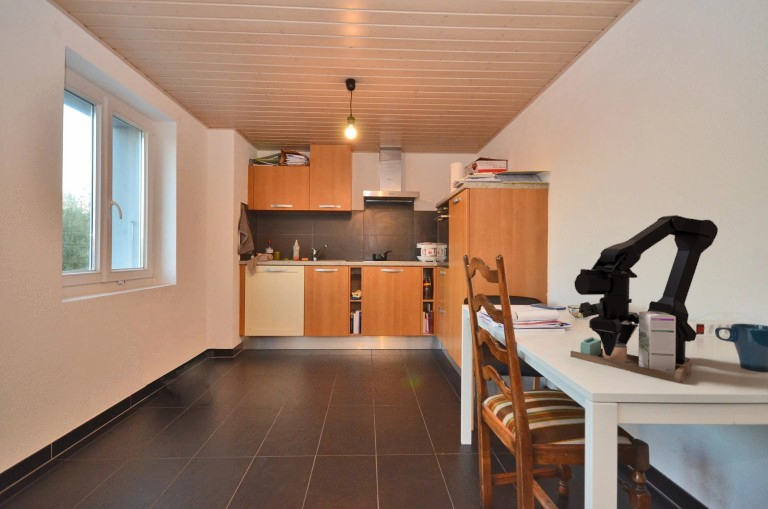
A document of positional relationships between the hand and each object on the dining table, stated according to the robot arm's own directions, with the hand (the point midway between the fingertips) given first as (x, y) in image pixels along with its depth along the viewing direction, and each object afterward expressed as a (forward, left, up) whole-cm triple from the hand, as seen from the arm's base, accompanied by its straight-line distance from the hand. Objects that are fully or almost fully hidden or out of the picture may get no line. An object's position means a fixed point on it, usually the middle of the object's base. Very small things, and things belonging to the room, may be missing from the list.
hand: (614, 352), depth 94 cm
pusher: (0, -6, -2) cm, 6 cm away
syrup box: (0, +9, -3) cm, 9 cm away
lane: (0, +2, -2) cm, 3 cm away
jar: (0, 0, -3) cm, 3 cm away
